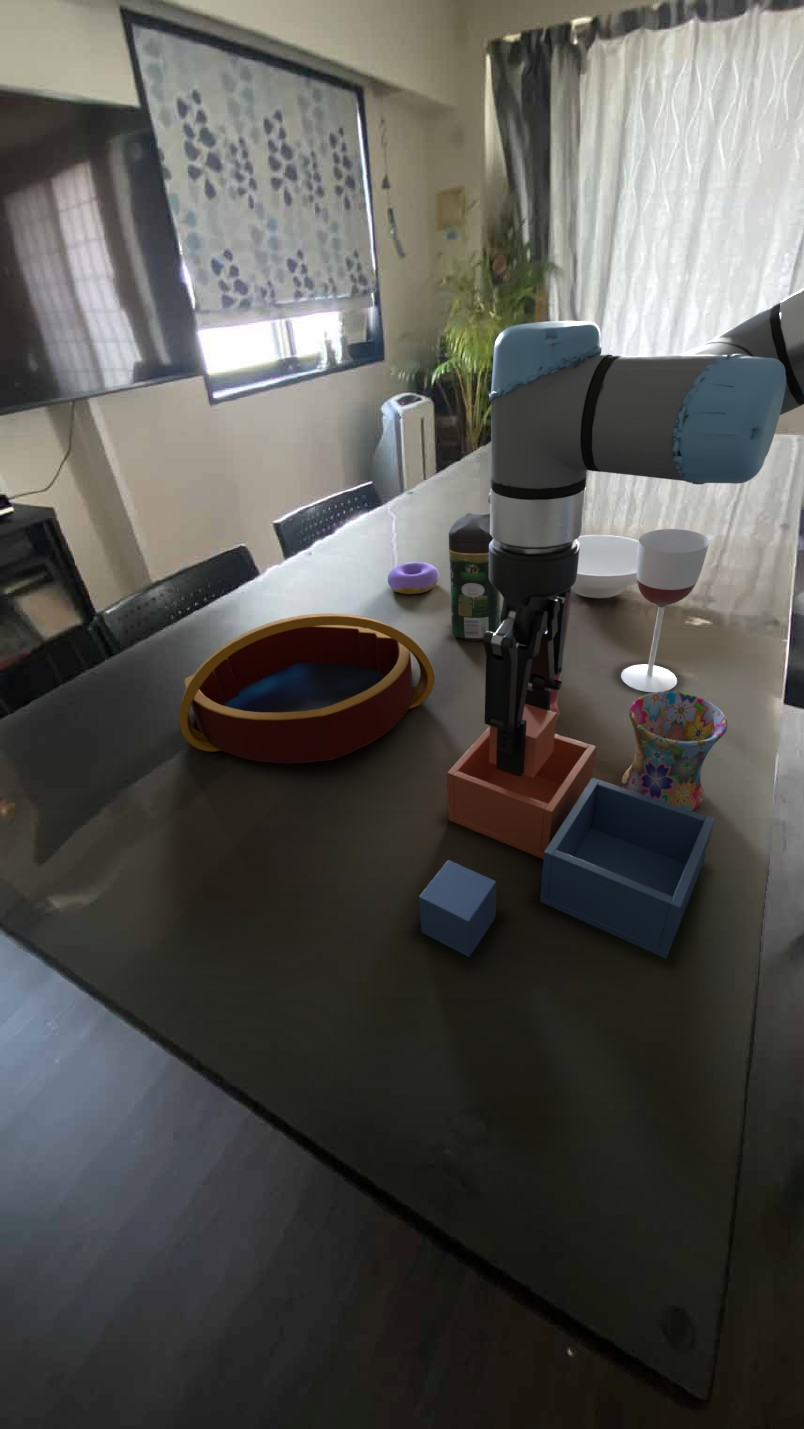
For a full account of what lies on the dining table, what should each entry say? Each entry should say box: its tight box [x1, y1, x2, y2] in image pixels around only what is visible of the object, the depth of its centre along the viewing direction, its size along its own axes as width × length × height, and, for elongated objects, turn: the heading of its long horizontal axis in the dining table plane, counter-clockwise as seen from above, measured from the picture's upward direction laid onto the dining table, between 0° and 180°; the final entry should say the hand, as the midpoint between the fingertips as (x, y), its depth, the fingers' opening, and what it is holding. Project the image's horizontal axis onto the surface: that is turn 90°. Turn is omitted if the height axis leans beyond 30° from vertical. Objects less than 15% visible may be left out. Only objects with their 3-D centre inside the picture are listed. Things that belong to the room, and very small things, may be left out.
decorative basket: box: [178, 612, 435, 764], centre depth 84 cm, size 34×29×15 cm
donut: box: [387, 561, 440, 595], centre depth 121 cm, size 10×9×5 cm
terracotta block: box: [489, 704, 557, 778], centre depth 66 cm, size 5×5×5 cm
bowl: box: [572, 534, 639, 599], centre depth 113 cm, size 20×20×7 cm
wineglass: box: [620, 528, 710, 693], centre depth 85 cm, size 8×9×20 cm
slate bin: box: [539, 777, 716, 959], centre depth 59 cm, size 12×12×7 cm
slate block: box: [418, 859, 497, 958], centre depth 57 cm, size 5×5×5 cm
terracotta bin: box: [446, 726, 597, 860], centre depth 69 cm, size 12×12×7 cm
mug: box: [621, 691, 728, 811], centre depth 69 cm, size 12×9×11 cm
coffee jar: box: [448, 512, 502, 642], centre depth 101 cm, size 10×8×19 cm
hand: (522, 754), depth 67 cm, fingers closed on terracotta block, 5 cm apart
